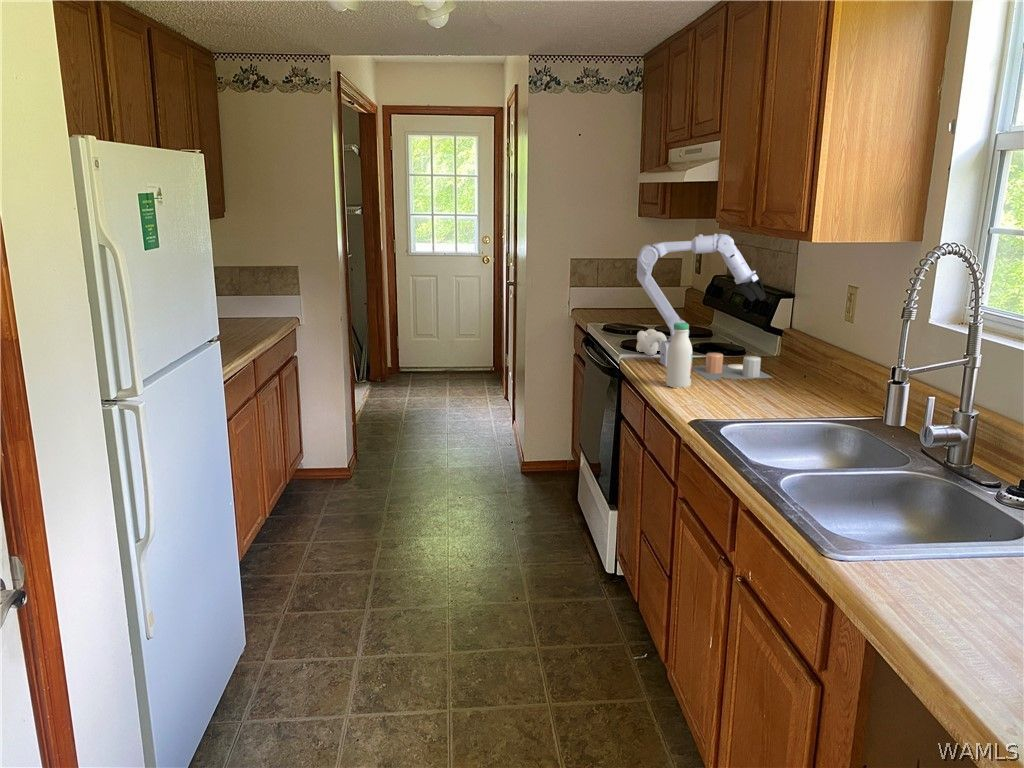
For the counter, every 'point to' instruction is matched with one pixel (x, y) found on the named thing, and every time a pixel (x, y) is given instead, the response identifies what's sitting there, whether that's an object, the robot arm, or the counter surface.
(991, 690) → the counter surface
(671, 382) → the milk bottle
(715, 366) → the peach domed cylinder
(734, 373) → the slate mat
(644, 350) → the white puffy twist
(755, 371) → the white domed cylinder
